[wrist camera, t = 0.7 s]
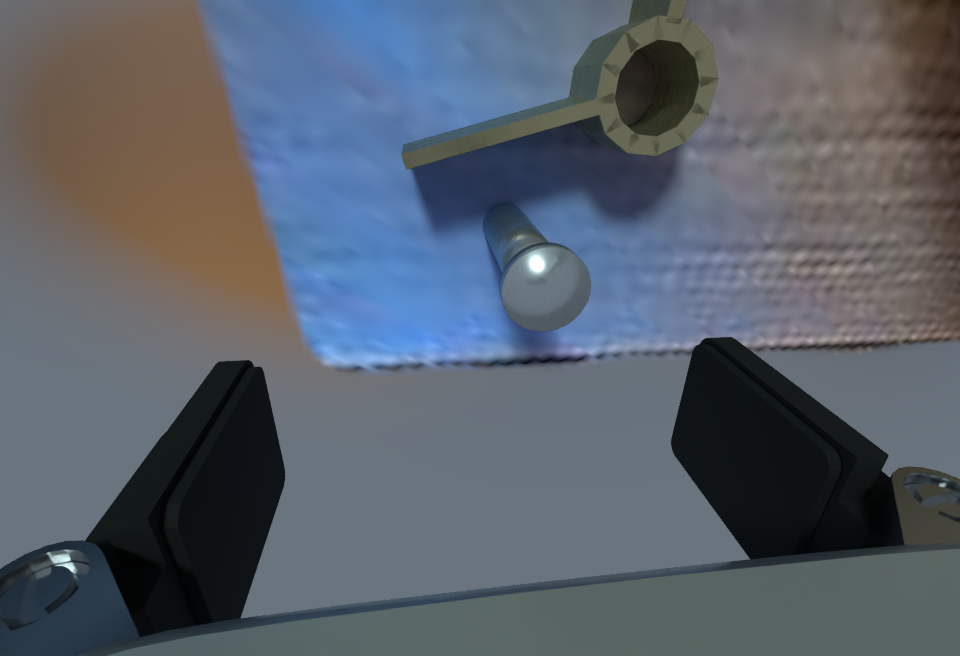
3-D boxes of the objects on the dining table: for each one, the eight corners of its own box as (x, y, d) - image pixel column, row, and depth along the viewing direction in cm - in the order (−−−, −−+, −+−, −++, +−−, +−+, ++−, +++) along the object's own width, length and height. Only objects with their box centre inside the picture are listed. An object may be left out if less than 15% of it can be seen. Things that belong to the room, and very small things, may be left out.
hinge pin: (538, 196, 32) (599, 250, 21) (529, 256, 34) (581, 333, 23) (477, 191, 31) (508, 244, 21) (471, 252, 33) (497, 330, 22)
